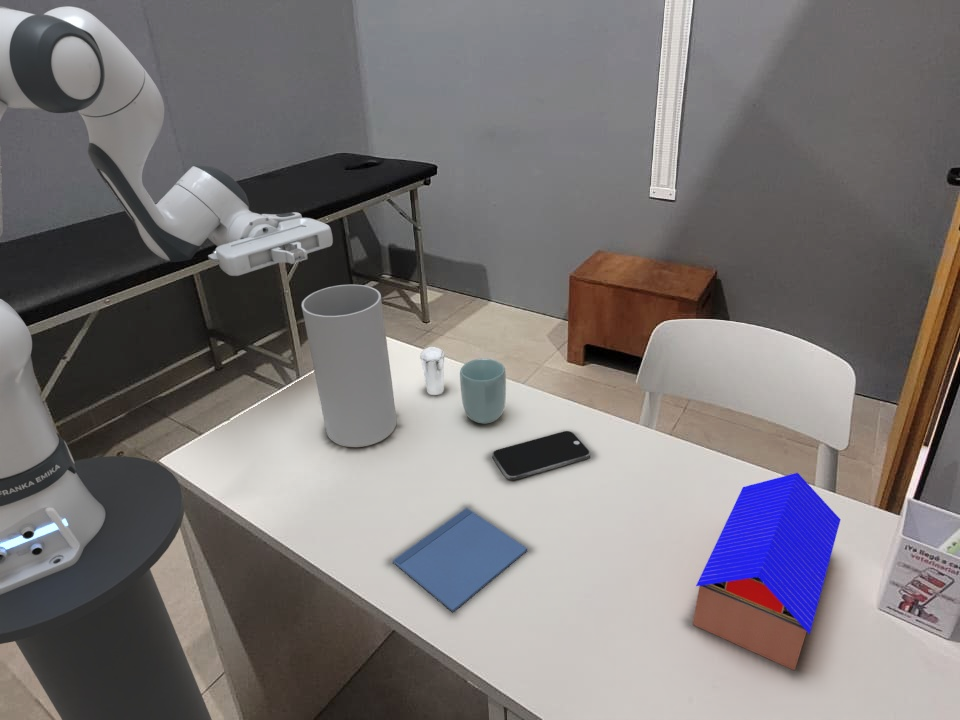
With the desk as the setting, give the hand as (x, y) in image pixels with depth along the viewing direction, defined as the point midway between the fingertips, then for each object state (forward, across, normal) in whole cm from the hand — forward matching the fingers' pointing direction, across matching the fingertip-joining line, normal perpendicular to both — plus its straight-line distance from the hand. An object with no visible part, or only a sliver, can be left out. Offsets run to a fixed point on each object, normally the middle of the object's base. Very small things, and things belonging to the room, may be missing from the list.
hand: (299, 257), depth 108 cm
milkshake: (+12, +17, +30) cm, 36 cm away
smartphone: (+40, +15, +30) cm, 52 cm away
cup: (+25, +17, +30) cm, 42 cm away
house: (+78, +13, +30) cm, 85 cm away
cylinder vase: (+11, 0, +30) cm, 32 cm away
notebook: (+46, -9, +30) cm, 55 cm away
